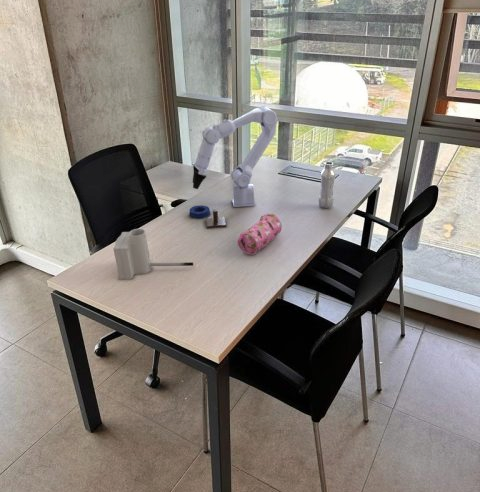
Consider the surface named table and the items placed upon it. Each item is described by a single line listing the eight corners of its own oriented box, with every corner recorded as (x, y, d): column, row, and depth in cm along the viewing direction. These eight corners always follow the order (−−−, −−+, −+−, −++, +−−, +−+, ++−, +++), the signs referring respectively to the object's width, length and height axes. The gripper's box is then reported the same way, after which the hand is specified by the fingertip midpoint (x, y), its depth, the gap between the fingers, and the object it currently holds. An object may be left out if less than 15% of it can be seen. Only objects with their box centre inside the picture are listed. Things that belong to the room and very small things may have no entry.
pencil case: (262, 230, 186) (262, 210, 181) (282, 234, 182) (283, 214, 177) (236, 253, 170) (235, 232, 166) (257, 259, 166) (257, 237, 162)
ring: (209, 209, 205) (208, 204, 204) (210, 217, 198) (209, 212, 196) (189, 211, 204) (189, 206, 203) (190, 219, 197) (189, 214, 196)
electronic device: (126, 261, 168) (119, 224, 160) (195, 260, 167) (192, 223, 159) (117, 279, 158) (109, 241, 150) (191, 278, 157) (187, 240, 149)
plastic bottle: (316, 208, 202) (319, 164, 192) (320, 202, 208) (323, 160, 197) (331, 210, 200) (334, 166, 190) (334, 204, 205) (338, 161, 195)
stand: (224, 218, 196) (223, 206, 193) (226, 227, 190) (225, 213, 186) (206, 220, 196) (205, 207, 193) (207, 228, 189) (205, 215, 186)
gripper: (194, 149, 198) (186, 178, 204) (195, 157, 186) (186, 188, 191) (210, 154, 200) (201, 183, 206) (212, 162, 187) (202, 192, 193)
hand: (195, 185), depth 198 cm, fingers open, 7 cm apart
